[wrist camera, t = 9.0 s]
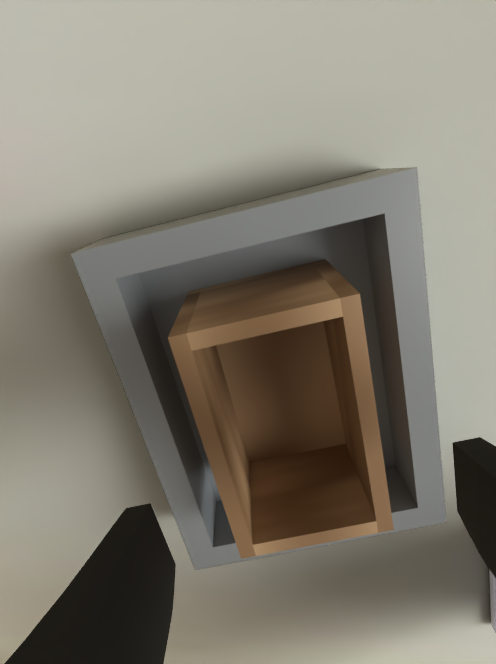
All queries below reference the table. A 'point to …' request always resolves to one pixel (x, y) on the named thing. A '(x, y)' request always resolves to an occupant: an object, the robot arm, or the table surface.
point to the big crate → (258, 258)
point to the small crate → (285, 406)
